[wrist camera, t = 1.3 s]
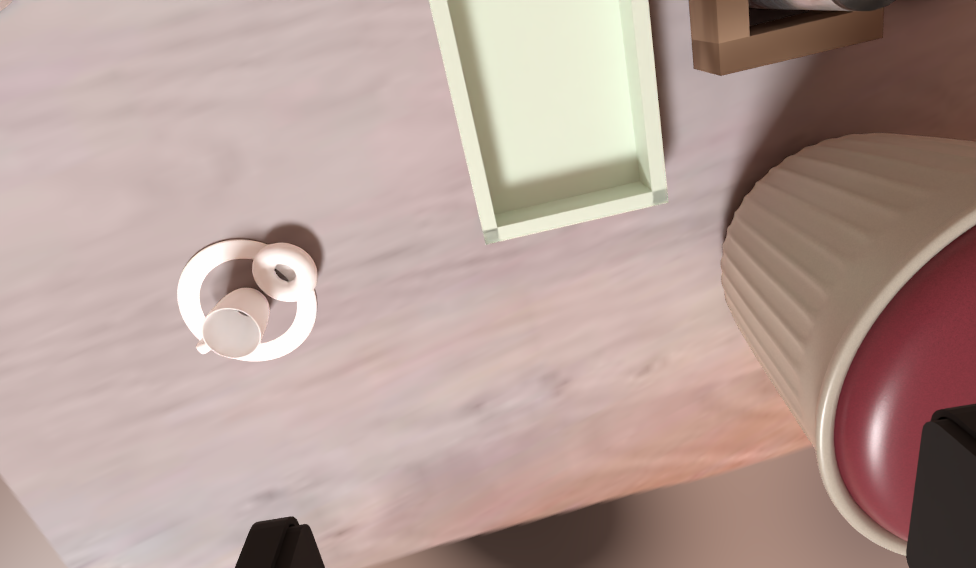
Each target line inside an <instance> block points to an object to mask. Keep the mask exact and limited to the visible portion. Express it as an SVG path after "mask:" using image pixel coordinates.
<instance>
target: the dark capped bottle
mask: <svg viewBox="0 0 976 568" xmlns="http://www.w3.org/2000/svg"><path fill="white" fill-rule="evenodd" d="M894 1H895V0H748V4H749V7H751V8H756V9H794V10H833V11H873V10H877V9H881V8H883V7H885V6H887V5H889V4H891V3H892V2H894Z"/></svg>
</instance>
